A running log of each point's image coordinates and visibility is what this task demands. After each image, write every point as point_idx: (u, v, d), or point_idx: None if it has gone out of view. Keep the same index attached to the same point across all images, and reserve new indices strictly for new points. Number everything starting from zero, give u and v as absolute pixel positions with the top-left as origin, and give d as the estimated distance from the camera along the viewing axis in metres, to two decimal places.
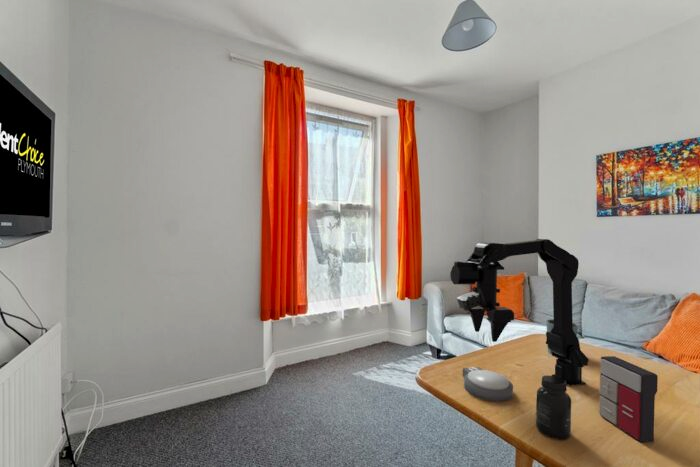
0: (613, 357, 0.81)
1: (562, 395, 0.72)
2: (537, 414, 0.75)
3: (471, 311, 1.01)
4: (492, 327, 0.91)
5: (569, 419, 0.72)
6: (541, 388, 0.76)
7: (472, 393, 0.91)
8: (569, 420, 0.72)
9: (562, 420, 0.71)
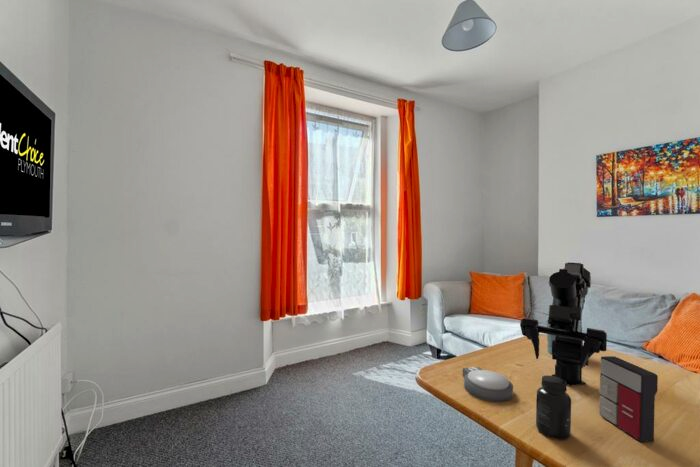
0: (613, 357, 0.81)
1: (562, 395, 0.72)
2: (537, 414, 0.75)
3: (537, 333, 0.86)
4: (586, 350, 0.78)
5: (569, 419, 0.72)
6: (541, 388, 0.76)
7: (472, 393, 0.91)
8: (569, 420, 0.72)
9: (562, 420, 0.71)
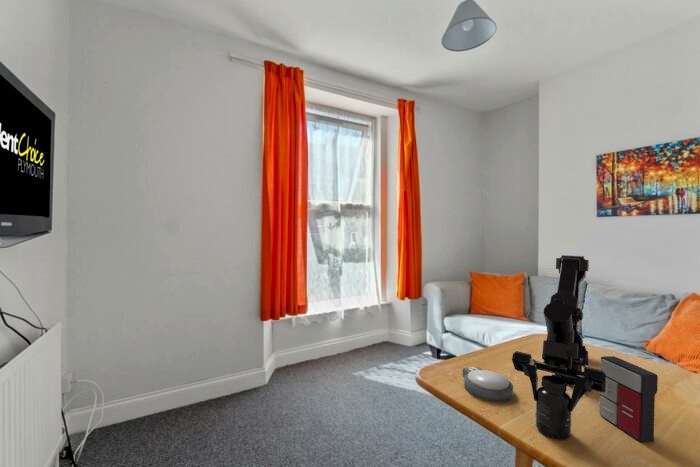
0: (613, 357, 0.81)
1: (562, 395, 0.72)
2: (537, 414, 0.75)
3: (535, 370, 0.78)
4: (577, 390, 0.72)
5: (569, 419, 0.72)
6: (541, 388, 0.76)
7: (472, 393, 0.91)
8: (569, 420, 0.72)
9: (562, 420, 0.71)
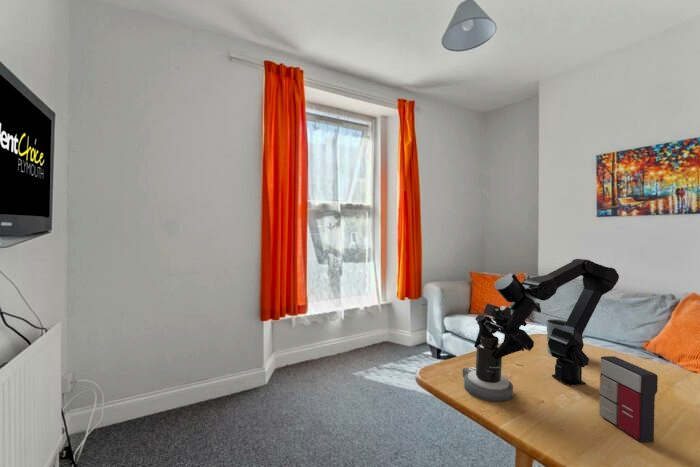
0: (613, 357, 0.81)
1: (489, 348, 0.91)
2: None
3: (483, 327, 0.99)
4: (504, 344, 0.89)
5: (492, 367, 0.90)
6: None
7: (472, 393, 0.91)
8: (492, 368, 0.90)
9: (484, 365, 0.91)
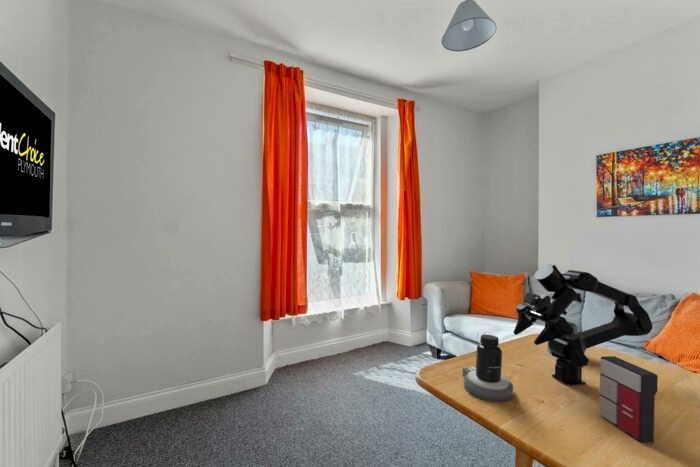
0: (613, 357, 0.81)
1: (489, 348, 0.91)
2: None
3: (523, 315, 1.04)
4: (544, 331, 0.93)
5: (493, 367, 0.90)
6: None
7: (472, 393, 0.91)
8: (492, 368, 0.90)
9: (484, 365, 0.91)
